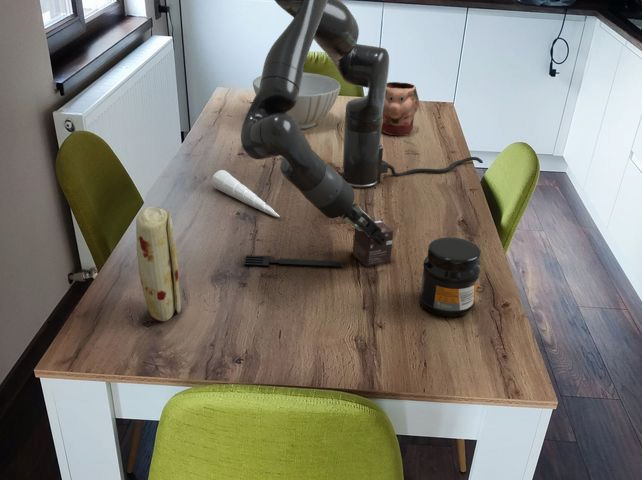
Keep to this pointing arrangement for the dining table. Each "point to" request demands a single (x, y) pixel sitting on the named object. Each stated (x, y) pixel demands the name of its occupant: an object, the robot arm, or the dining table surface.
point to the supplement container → (450, 276)
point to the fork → (289, 262)
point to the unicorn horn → (239, 191)
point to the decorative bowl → (311, 98)
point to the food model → (158, 262)
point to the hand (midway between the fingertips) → (372, 233)
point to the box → (373, 246)
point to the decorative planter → (399, 108)
